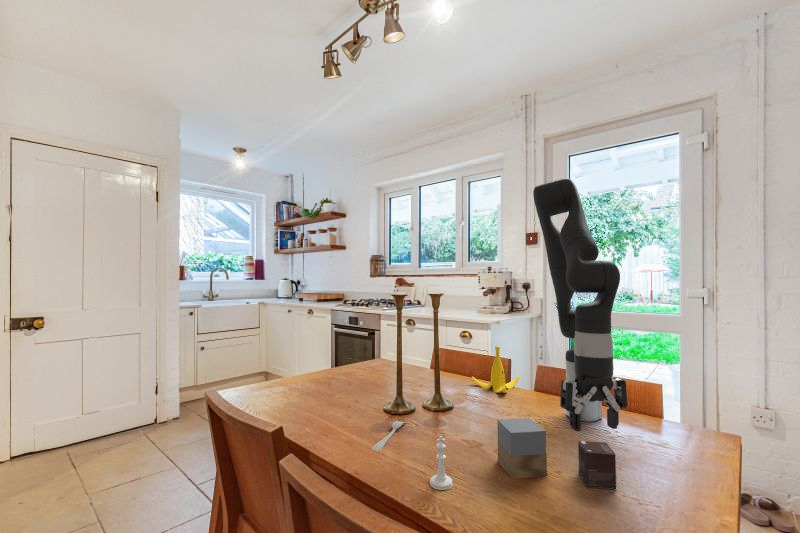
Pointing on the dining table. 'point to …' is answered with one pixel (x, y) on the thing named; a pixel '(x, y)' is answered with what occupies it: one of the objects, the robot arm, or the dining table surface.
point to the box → (597, 464)
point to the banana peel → (497, 377)
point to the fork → (383, 441)
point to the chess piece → (441, 470)
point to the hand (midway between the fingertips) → (594, 428)
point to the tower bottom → (522, 464)
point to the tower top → (521, 436)
